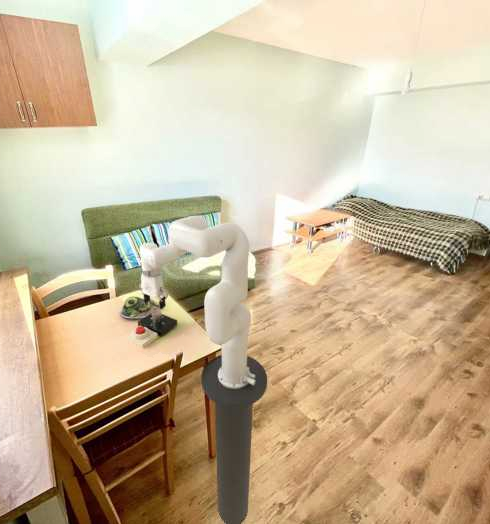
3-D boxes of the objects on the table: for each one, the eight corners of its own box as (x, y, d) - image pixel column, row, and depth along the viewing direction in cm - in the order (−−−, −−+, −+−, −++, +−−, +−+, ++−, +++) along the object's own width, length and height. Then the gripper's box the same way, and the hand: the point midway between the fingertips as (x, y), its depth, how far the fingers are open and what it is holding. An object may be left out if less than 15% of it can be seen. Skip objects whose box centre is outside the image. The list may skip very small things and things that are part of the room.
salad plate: (164, 300, 152) (163, 292, 149) (155, 321, 136) (154, 313, 134) (129, 299, 153) (128, 292, 150) (116, 320, 137) (115, 312, 135)
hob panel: (177, 324, 133) (177, 319, 132) (161, 336, 124) (160, 332, 123) (154, 315, 140) (154, 310, 139) (138, 326, 132) (137, 321, 131)
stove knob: (163, 320, 132) (162, 310, 130) (157, 324, 128) (156, 315, 126) (157, 317, 134) (156, 307, 132) (150, 321, 131) (149, 312, 129)
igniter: (158, 337, 124) (157, 330, 122) (142, 348, 117) (141, 341, 115) (140, 329, 129) (139, 322, 128) (125, 340, 122) (124, 332, 121)
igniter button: (146, 331, 122) (146, 327, 122) (140, 335, 120) (140, 332, 119) (141, 328, 124) (140, 325, 123) (134, 332, 121) (134, 329, 121)
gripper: (130, 269, 123) (135, 302, 129) (159, 279, 114) (163, 314, 121) (143, 263, 128) (147, 296, 135) (171, 272, 120) (174, 306, 127)
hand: (155, 304), depth 128 cm, fingers open, 9 cm apart
